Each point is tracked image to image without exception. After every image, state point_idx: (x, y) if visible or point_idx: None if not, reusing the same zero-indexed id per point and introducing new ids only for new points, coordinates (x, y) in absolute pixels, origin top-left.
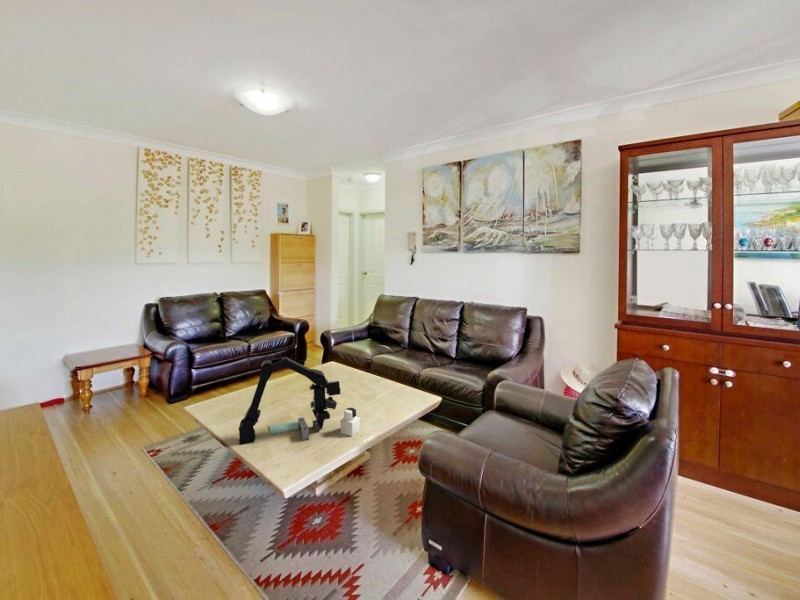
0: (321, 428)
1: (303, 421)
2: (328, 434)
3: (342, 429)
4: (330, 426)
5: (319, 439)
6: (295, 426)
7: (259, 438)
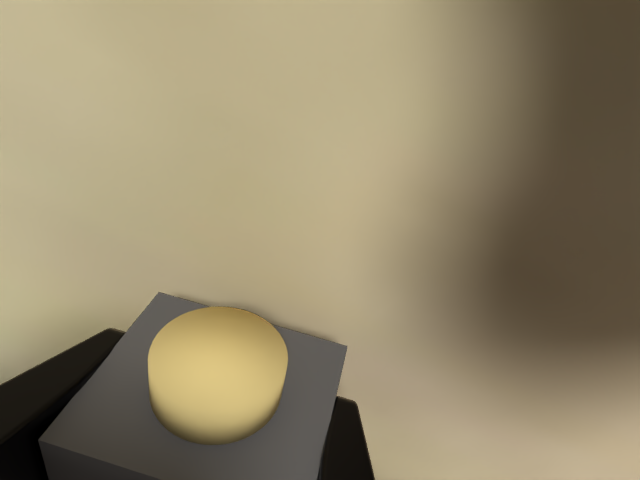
0: (339, 380)
1: None
2: (587, 278)
3: None
4: (196, 18)
5: (612, 473)
6: None
7: None
